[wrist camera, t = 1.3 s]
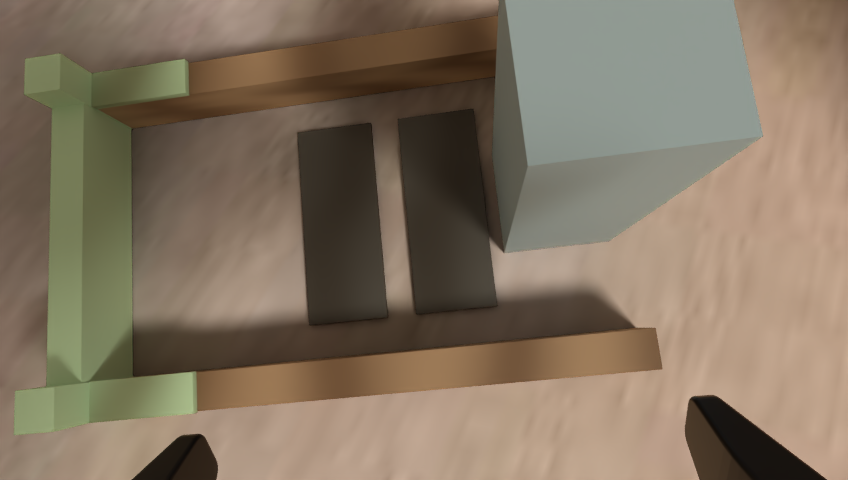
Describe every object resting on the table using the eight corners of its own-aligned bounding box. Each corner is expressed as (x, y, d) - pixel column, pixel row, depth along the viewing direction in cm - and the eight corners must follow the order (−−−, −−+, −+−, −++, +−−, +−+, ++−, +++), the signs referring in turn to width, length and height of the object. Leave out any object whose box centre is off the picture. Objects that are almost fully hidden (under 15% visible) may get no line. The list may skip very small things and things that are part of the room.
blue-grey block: (592, 142, 24) (718, -70, 11) (608, 241, 23) (762, 136, 10) (491, 155, 24) (500, -35, 11) (504, 253, 23) (527, 166, 11)
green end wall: (132, 99, 27) (60, 53, 22) (134, 412, 24) (53, 431, 20) (102, 103, 27) (25, 58, 22) (101, 414, 24) (13, 435, 20)
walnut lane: (587, 31, 25) (601, -6, 22) (642, 365, 22) (665, 371, 19) (117, 101, 27) (75, 75, 24) (117, 413, 24) (70, 424, 21)
